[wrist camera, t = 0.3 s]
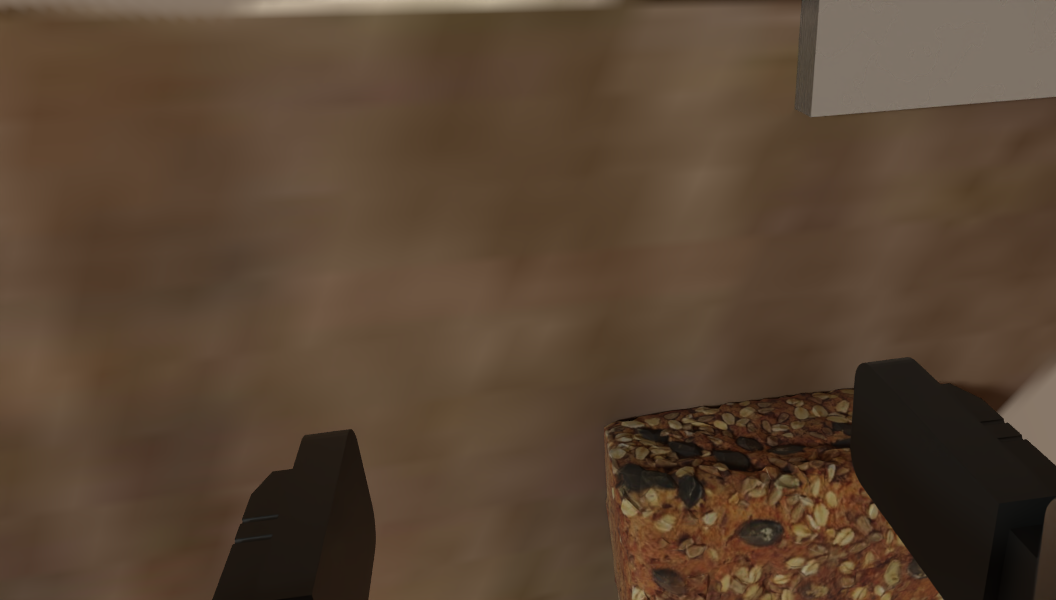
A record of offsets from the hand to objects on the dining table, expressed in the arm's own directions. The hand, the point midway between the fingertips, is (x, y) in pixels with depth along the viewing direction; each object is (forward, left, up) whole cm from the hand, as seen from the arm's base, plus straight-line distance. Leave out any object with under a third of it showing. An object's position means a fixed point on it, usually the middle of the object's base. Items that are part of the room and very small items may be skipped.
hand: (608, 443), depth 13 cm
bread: (+22, +13, -29) cm, 39 cm away
